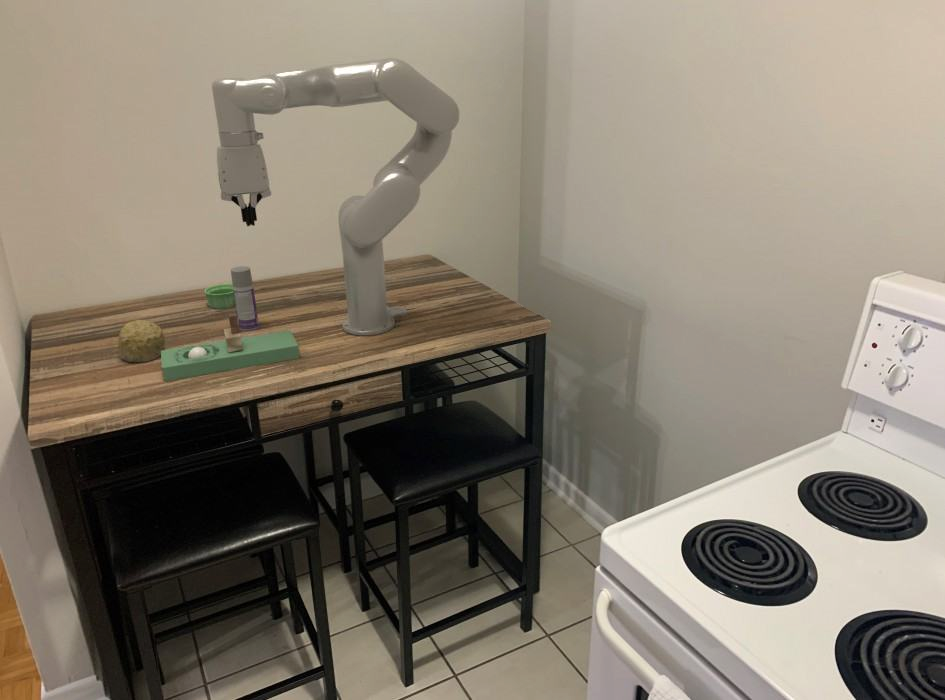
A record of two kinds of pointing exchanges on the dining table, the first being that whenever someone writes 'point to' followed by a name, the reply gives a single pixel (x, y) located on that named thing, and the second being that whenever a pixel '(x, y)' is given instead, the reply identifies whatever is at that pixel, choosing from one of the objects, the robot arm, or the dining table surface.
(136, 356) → the rock
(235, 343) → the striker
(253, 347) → the putting green
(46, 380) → the dining table surface
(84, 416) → the dining table surface
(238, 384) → the dining table surface
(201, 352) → the golf ball
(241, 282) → the container
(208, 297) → the ramekin
